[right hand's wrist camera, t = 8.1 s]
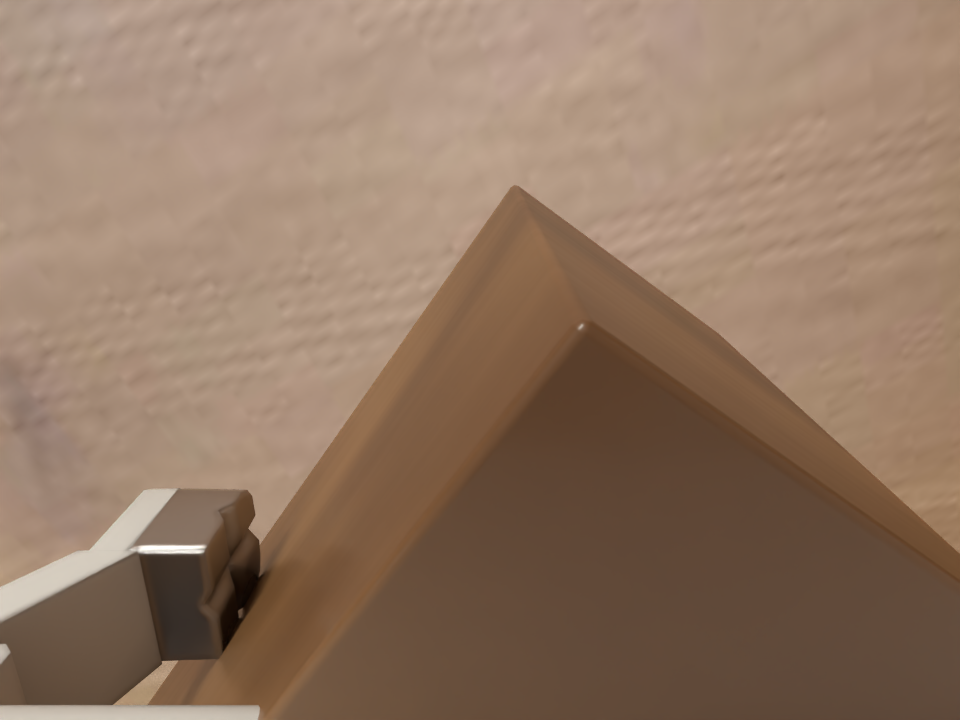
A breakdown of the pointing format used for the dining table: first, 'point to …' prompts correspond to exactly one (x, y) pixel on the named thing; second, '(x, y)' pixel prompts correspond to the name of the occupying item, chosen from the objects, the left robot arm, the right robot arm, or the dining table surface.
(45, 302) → the dining table surface
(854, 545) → the bar
